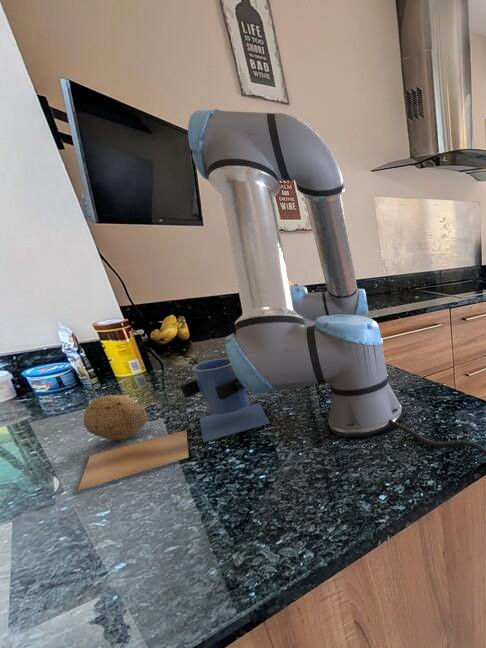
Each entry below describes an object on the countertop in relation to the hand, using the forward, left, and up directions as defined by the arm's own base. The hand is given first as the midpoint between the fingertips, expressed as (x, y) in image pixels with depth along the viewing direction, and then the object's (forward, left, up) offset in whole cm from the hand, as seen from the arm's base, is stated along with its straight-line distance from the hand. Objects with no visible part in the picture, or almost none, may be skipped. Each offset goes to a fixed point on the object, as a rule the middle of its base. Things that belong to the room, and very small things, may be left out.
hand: (201, 392), depth 80 cm
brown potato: (+10, +15, -10) cm, 21 cm away
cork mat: (-2, +12, -9) cm, 16 cm away
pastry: (+31, +18, -10) cm, 37 cm away
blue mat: (+3, -4, -9) cm, 11 cm away
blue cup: (+3, -4, -6) cm, 7 cm away
